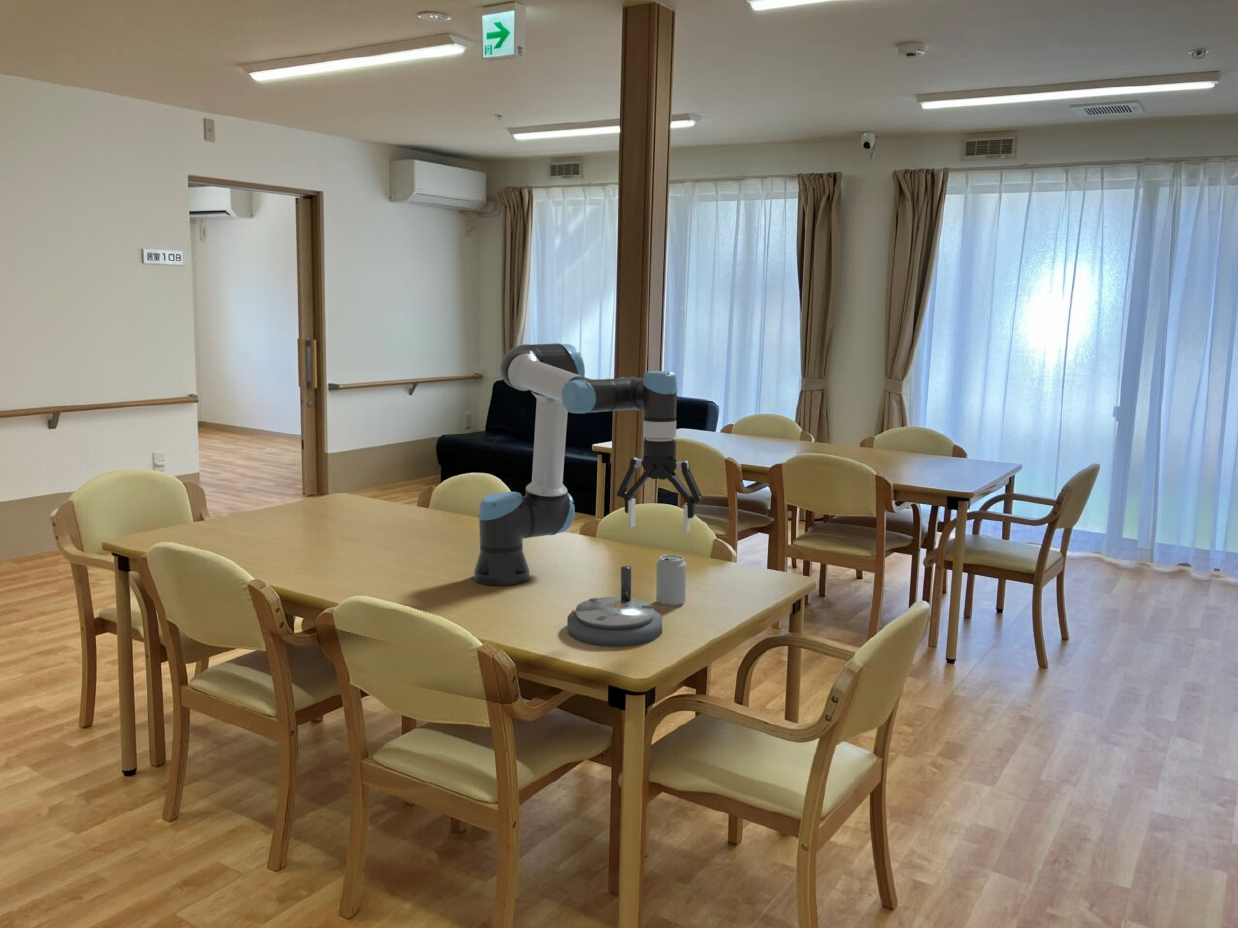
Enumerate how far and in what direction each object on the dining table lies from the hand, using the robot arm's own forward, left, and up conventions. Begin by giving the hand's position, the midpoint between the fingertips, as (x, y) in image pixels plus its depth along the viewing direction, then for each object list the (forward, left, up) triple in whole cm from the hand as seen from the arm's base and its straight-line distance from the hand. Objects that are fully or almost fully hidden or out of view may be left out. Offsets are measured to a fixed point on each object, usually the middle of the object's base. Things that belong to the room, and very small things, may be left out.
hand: (659, 529), depth 225 cm
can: (+6, +16, -23) cm, 29 cm away
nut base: (-11, -3, -23) cm, 26 cm away
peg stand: (-11, -3, -20) cm, 23 cm away
